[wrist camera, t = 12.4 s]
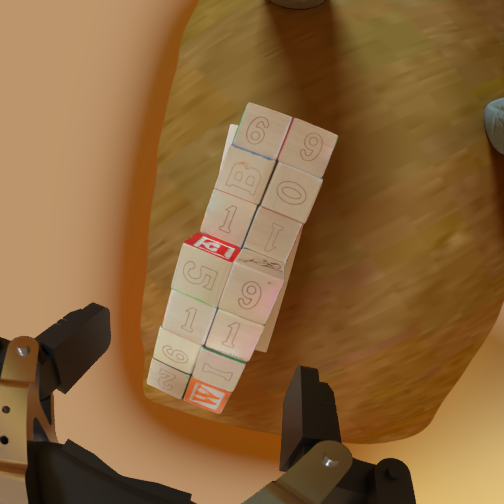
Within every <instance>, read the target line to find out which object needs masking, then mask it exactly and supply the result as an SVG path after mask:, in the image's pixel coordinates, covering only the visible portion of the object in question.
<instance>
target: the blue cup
mask: <svg viewBox="0 0 504 504" xmlns="http://www.w3.org/2000/svg"><path fill="white" fill-rule="evenodd" d="M484 125H485V129H486V133H487V136H488V138H489V140H490V142H491V144H492V145H493V147H494V148H495V149H496V150H497V151H498V152H499V153H501V154H503V155H504V98H500V99H497V100H495V101H492V102H490V103H489V104H488V105H487V106H486V108H485V111H484Z"/></svg>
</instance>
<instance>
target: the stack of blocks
mask: <svg viewBox="0 0 504 504" xmlns="http://www.w3.org/2000/svg"><path fill="white" fill-rule="evenodd" d="M337 139H338V135H336V134H333V133H331V132H329V131H327V130H325V129H322V128H320V127H317V126H315V125H312V124H310V123H308V122H305V121H303V120H300V119H298V118H293V117H290V116H288V115H285V114H283V113H280V112H277V111H274V110H271V109H268V108H265V107H263V106H259V105H256V104H253V103H250V102H249V103H248V104H247V105H246V108H245V110H244V113H243V115H242V118H241V120H240V123H239V125H238V128H237V130H236V133H235V136H234V139H233V142H232V144H231V145H230V147H229V149H228V152H227V154H226V157H225V160H224V162H223V165H222V168H221V170H220V173H219V176H218V179H217V181H216V184H215V188H214V190H213V192H212V194H211V198H210V200H209V203H208V206H207V209H206V212H205V216H204V219H203V222H202V225H201V232H200V233H196V234H195V235H194V236H192V237H190V238H189V239H188V240H186V241H185V242H184V243H183V245H182V248H181V252H180V255H179V259H178V262H177V266H176V270H175V273H174V277H173V280H172V284H171V288H172V289H171V293H170V296H169V299H168V303H167V307H166V312H165V315H164V319H163V323H162V325H161V326H160V329H159V333H158V337H157V341H156V346H155V350H154V354H153V358H152V360H151V365H150V369H149V373H148V378H147V383H148V384H149V385H151V386H153V387H155V388H157V389H159V390H161V391H163V392H165V393H168V394H170V395H172V396H174V397H176V398H178V399H182V398H183V400H184V401H186V402H188V403H190V404H193V405H195V406H198V407H200V408H203V409H206V410H209V411H211V412H214V413H217V414H221V412H222V410H223V408H224V406H225V404H226V402H227V401H228V399H229V397H230V395H231V392H232V391H234V389H235V387H236V385H237V383H238V380H239V378H240V376H241V374H242V372H243V370H244V368H245V365H246V362H247V361H249V360H250V358H251V356H252V354H253V352H254V350H255V348H256V346H257V344H258V341H259V339H260V337H261V335H262V333H263V330H264V327H265V324H266V322H267V321H268V318H269V316H270V314H271V312H272V309H273V307H274V305H275V303H276V300H277V298H278V296H279V294H280V291H281V289H282V287H283V285H284V278H285V264H286V263H287V260H288V258H289V256H290V254H291V251H292V249H293V247H294V244H295V242H296V240H297V238H298V235H299V233H300V231H301V228H302V226H303V224H304V223H306V221H307V218H308V216H309V214H310V212H311V209H312V207H313V205H314V202H315V200H316V197H317V195H318V192H319V190H320V187H321V185H322V182H323V179H322V177H323V175H324V172H325V170H326V167H327V165H328V162H329V160H330V157H331V155H332V152H333V150H334V147H335V145H336V142H337Z"/></svg>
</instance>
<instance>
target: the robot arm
mask: <svg viewBox="0 0 504 504" xmlns="http://www.w3.org/2000/svg"><path fill="white" fill-rule="evenodd" d="M270 1H271V2H273V3H275V4H277V5H279V6H282V7H287V8H293V9H306V8H311V7H315V6H317V5H319V4H321V3H322V2H324V1H325V0H270ZM110 341H111V331H110V312H109V309H108V308H106V307H103V306H101V305H99V304H96V303H91V304H89V305H88V306H86V307H85V308H84V309H79V310H76V311H73V312H70V313H69V314H67V315H66V316H64V317H63V319H60V320H59V321H58V322H57V323H56V324H53V325H52V326H51V327H49V328H48V329H47V330H45V331H44V332H43V333H41V334H40V335H38V336H37V337H36V338H32V337H29V336H20V337H17V338H15V339H13V340H12V341H9V340H7V339H4V338H1V337H0V504H196V503H194V502H192V501H190V500H191V495H192V494H190V493H186V492H183V491H180V490H177V489H174V488H171V487H168V486H165V485H162V484H159V483H155V482H149V481H144V480H139V479H133V478H128V477H125V476H122V475H120V474H118V473H117V472H116V471H114V470H113V469H111V468H110V467H109V466H108V465H107V464H105V463H104V462H103V461H102V460H101V459H99V458H98V457H97V456H96V455H95V454H93V453H91V452H90V451H88V450H86V449H84V448H83V447H81V446H79V445H78V444H76V443H74V442H73V441H71V440H69V439H68V440H67V441H66V443H65V444H60V443H58V440H57V436H56V432H55V419H54V395H53V391H54V390H55V389H58V390H59V391H61V392H62V393H64V394H66V393H67V392H68V391H69V390H70V389H71V388H72V386H73V385H74V384H75V383H76V382H77V381H78V380H79V379H80V378H81V377H82V376H83V375H84V374H85V372H86V371H87V370H88V369H89V368H90V367H91V366H92V365H93V364H94V363H95V362H96V361H97V360H98V358H100V357H101V356H102V354H104V353H105V351H106V350H107V348H108V347H109V345H110ZM336 411H337V410H336V405H335V398H334V392H333V391H332V389H331V388H330V387H329V385H328V384H327V383H323V382H319V374H318V369H316V368H310V367H305V366H298V367H297V369H296V371H295V374H294V376H293V378H292V381H291V383H290V385H289V388H288V390H287V392H286V395H285V399H284V404H283V421H282V439H281V455H280V469H279V470H280V471H284V472H286V473H284V474H283V475H282V476H281V477H280V478H278V479H277V480H276V481H272V482H271V483H269V484H267V485H266V486H265V487H263V488H262V489H261V490H260V491H258V492H257V493H255V494H254V495H253V496H251V497H250V498H249V499H247V500H246V501H244V502H243V503H241V504H416V500H415V495H414V490H413V484H412V480H411V475H410V471H409V469H408V467H407V466H406V465H405V464H404V463H403V462H402V461H400V460H398V459H394V458H387V459H383V460H381V461H380V462H379V463H378V464H377V465H375V464H371V463H367V462H364V461H360V460H357V459H355V458H353V457H352V454H351V452H350V451H349V449H348V448H347V447H346V446H344V445H343V444H342V443H341V436H340V429H339V423H338V416H337V413H336Z"/></svg>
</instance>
